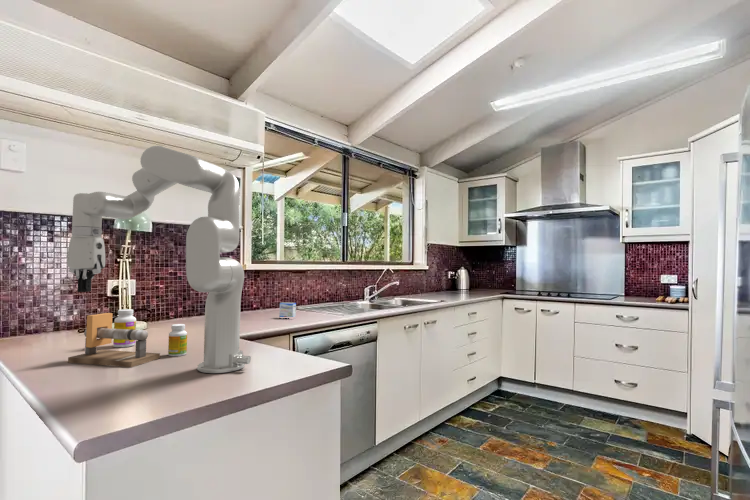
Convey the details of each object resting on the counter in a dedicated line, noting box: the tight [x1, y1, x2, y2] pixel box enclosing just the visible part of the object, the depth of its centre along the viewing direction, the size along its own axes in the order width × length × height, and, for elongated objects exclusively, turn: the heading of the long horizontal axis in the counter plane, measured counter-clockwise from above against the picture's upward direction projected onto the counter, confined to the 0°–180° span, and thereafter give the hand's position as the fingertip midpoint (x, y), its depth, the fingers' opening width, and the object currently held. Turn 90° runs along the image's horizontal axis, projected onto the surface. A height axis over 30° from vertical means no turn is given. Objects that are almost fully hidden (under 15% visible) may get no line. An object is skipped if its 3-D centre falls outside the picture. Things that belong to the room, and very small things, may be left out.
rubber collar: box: [85, 312, 113, 348], centre depth 122 cm, size 2×7×9 cm, turn 168°
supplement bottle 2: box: [167, 323, 188, 357], centre depth 129 cm, size 5×5×10 cm
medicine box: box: [278, 302, 297, 317], centre depth 215 cm, size 8×4×9 cm, turn 81°
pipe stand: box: [67, 327, 161, 368], centre depth 120 cm, size 22×11×10 cm, turn 78°
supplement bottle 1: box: [112, 308, 137, 348], centre depth 141 cm, size 7×7×13 cm
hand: (84, 291), depth 124 cm, fingers closed
